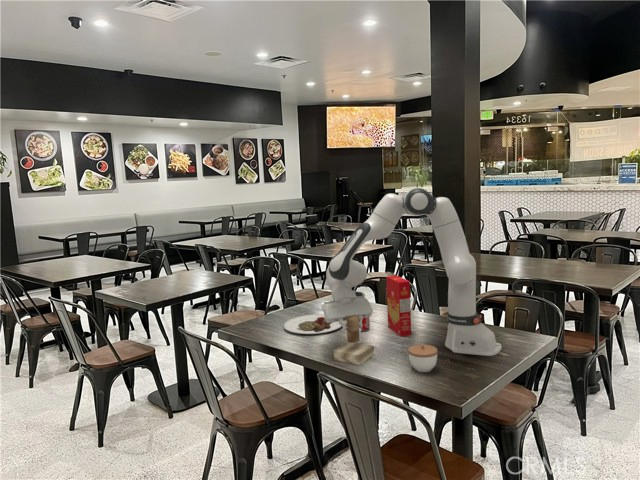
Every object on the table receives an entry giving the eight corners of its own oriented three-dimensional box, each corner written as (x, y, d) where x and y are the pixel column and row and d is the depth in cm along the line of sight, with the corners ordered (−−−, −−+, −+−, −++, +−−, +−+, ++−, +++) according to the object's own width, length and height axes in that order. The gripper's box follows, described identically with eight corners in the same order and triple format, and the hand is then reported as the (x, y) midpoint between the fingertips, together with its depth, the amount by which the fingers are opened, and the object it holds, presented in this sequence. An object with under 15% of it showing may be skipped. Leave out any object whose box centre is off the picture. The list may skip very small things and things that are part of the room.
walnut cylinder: (361, 339, 194) (360, 315, 193) (355, 343, 190) (354, 319, 189) (351, 337, 197) (350, 314, 196) (344, 341, 193) (343, 317, 191)
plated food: (273, 334, 229) (273, 327, 229) (298, 316, 257) (298, 310, 257) (332, 339, 218) (331, 332, 218) (351, 319, 246) (351, 313, 246)
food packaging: (388, 326, 230) (386, 276, 227) (398, 325, 232) (396, 275, 228) (400, 336, 216) (398, 282, 213) (411, 334, 217) (409, 281, 214)
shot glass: (353, 340, 214) (352, 325, 213) (364, 343, 209) (364, 328, 208) (342, 344, 209) (342, 329, 209) (354, 348, 205) (353, 332, 204)
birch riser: (374, 354, 196) (374, 345, 195) (359, 365, 186) (359, 355, 185) (349, 350, 203) (349, 341, 202) (334, 359, 193) (333, 350, 192)
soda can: (369, 327, 232) (368, 303, 230) (369, 331, 225) (368, 307, 223) (355, 327, 232) (354, 303, 231) (354, 332, 225) (353, 307, 224)
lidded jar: (412, 375, 174) (411, 351, 173) (405, 364, 184) (405, 341, 183) (441, 373, 174) (441, 349, 173) (433, 362, 185) (432, 339, 184)
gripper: (321, 298, 194) (330, 328, 187) (367, 292, 201) (378, 320, 193) (318, 306, 199) (327, 335, 191) (363, 299, 205) (374, 328, 198)
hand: (353, 328), depth 192 cm, fingers closed on walnut cylinder, 5 cm apart
